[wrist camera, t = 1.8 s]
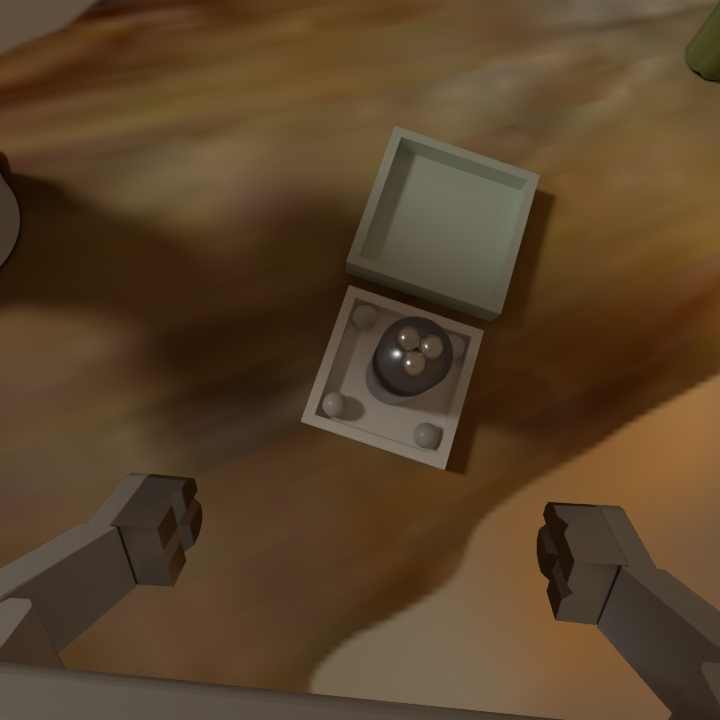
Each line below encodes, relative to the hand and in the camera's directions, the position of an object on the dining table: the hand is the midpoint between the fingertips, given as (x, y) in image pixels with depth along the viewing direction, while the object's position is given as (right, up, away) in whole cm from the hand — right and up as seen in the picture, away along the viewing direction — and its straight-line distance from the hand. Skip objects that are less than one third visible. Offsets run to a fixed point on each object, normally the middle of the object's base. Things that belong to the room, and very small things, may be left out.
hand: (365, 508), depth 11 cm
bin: (+8, +17, +39) cm, 43 cm away
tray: (+3, +2, +36) cm, 36 cm away
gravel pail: (+3, +2, +35) cm, 35 cm away
